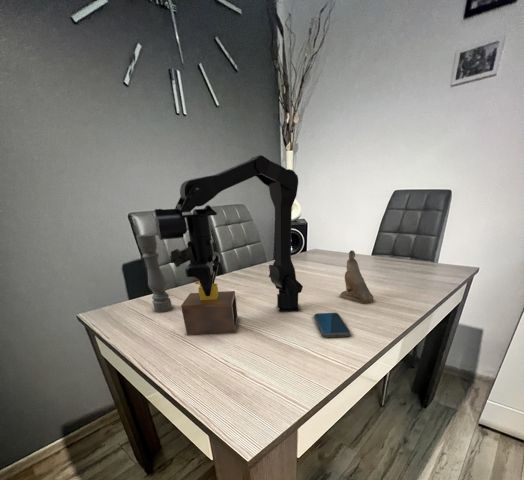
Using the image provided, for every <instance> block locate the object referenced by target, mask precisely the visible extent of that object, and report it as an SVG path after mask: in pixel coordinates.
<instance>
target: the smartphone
mask: <svg viewBox="0 0 524 480" xmlns="http://www.w3.org/2000/svg"><path fill="white" fill-rule="evenodd" d="M313 318H314V320H315V322H316V324H317V327H318V329H319V331H320V333H321V336H323V338H342V337H343V338H345V337H350V336H351V331H350V329H349V328H348V326H347V325H346V323H345V322H344V320H343V319H342V317H341V316H340V314H339V313H338V312H317V313H315V314H314V315H313Z"/></svg>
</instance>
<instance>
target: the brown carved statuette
mask: <svg viewBox="0 0 524 480" xmlns="http://www.w3.org/2000/svg"><path fill="white" fill-rule="evenodd" d="M355 257H356V252H355V251H354V250H350V251H349V252H348V259H347V261H346V267H345V268H346V271H345V273H344V283H345V290H344V291H342V292H340V294H339V297H340V298H342V299H345V300H350V301H352V302H355V303H360V304H364V305H366V304H367V305H368V304H371V303H373V302H374V295H373V293H372V292H371V291H370V289H369V287H368V286H367V283H366V281H365V279H364V277H363V275H362V272H361V271H360V267H359V263H358V261H357V259H355Z"/></svg>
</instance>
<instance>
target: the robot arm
mask: <svg viewBox="0 0 524 480" xmlns="http://www.w3.org/2000/svg"><path fill="white" fill-rule="evenodd" d="M254 177H256V178H257V179H258V180H259V181H260V182H261V183H262V184H263V185H265V186H266V187H268V189H269V197H270V199H271V203H272V204H273V207H274V240H275V241H274V244H275V245H274V247H275V248H274V250H275V251H274V252H275V254H274V255H275V256H274V257H275V258H274V261H273V263H272V264H269V265H268V270H269V275H268V278H270V281H271V283H272V284H273V285H274V287H275V289H276V290H278V293H277V294H276V299H277V301H276V302H277V309H278V310H279V312H298V311H300V308H299V294H300V293H302V291H303V287H304V286H303V284H301V283H300V282H299V281H298V280H297V275H296V268H295V266H294V263H293V261H292V210H293V209H292V208H293V205H294V203H295V200H296V198H297V194H298V188H299V177H298V174H296V172H295V171H294V170H292V169H290V168H288V169H287V168H286V167H284V166H282V165H280V164H278V163H276V162H274V161H271V160H270V159H268V158H267V157H265V156H264V155H262V154H260V155H256V156H253V157H251V158H250V159H248V160H246V161H243V162H242V163H239V164H236V165H235V166H232V167H230V168H227V169H225V170H223V171H220V172H218V173H216V174H212V175H207V176H202V177H194V178H192V179H191V178H190V179H188V180H185V181H184V182H182V183H181V185H180V188H179V195H180V197H179V199H178V201H177V203H176V205H175V206H174V208H167V209H164V208H155V209H154V220H155V229H156V233H157V236H158V239H159V241H165V240H166V241H167V240H175V239H183V238H184V236H185V235H186V234H187V233H188V239H189V241H188V242H187V246H186V247H185V248H183V249H180V250H179V249H178V248H176V249H174V250H172V251H170V255H169V258H170V263H172V264H174V266H175V267H176V268H179V267H180V266H181V265H184V264H185V263H187V262H189V264H188V265H187V266H186V267H185V269H184V271H185V277H186V278H195V279H197V280H198V281H199V282H200V284H201V286H202V288H203V291H204V293H205V295H206V296H210V293H211V288H212V284H215V281H216V278H217V274H218V269H219V266H220V265H219V264H220V263H221V260H222V259H221V254H220V253H219V252H218V251H214V245H213V244H214V243H215V242H214V240H215V239H214V238H213V237H212V229H211V222H210V216H211V217H213V216H217V215H218V213H217V211H215V210H214V209H213V208H212V207H211V206H210V205H211V204H210V205H209V204H207V203H209V202H210V201H211V200H213V199H214V198H215V197H216V196H217V195H219V194H220V193H221V192H223V191H225V190H227V189H230V188H231V187H234V186H236V185H238V184H241V183H243V182H245V181H248V180H250V179H252V178H254ZM204 205H205V207H204V208H199V207H203V206H204ZM196 207H197V208H196ZM190 212H192V213H190ZM183 213H189V214H183ZM214 262H217V264H214Z"/></svg>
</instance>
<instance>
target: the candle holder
mask: <svg viewBox="0 0 524 480" xmlns="http://www.w3.org/2000/svg"><path fill="white" fill-rule="evenodd" d="M136 241H137V245H138V248H140V250H141V251H142V253H143V254H142V255H141V257H142V259H144V260H145V264H146V268H147V285H148V288H149V290H151V291H152V293H153V294H152V296H151V298H152V305H153V308H154V312H156V313H165V312H169V311H171V310H173V304H172V300H171V298H170V295H169V293H167V289H166V288H167V286H168V283H167V280H166V278H165V276H164V274H163V272H162V270H161V267H160V263H159V256H160V254H159V253H158V252H157V248H158V247H157V246H158V242H157V237H156V234H155V233H149V234H148V233H146V234H145V233H144V234H138V235H136Z"/></svg>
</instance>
